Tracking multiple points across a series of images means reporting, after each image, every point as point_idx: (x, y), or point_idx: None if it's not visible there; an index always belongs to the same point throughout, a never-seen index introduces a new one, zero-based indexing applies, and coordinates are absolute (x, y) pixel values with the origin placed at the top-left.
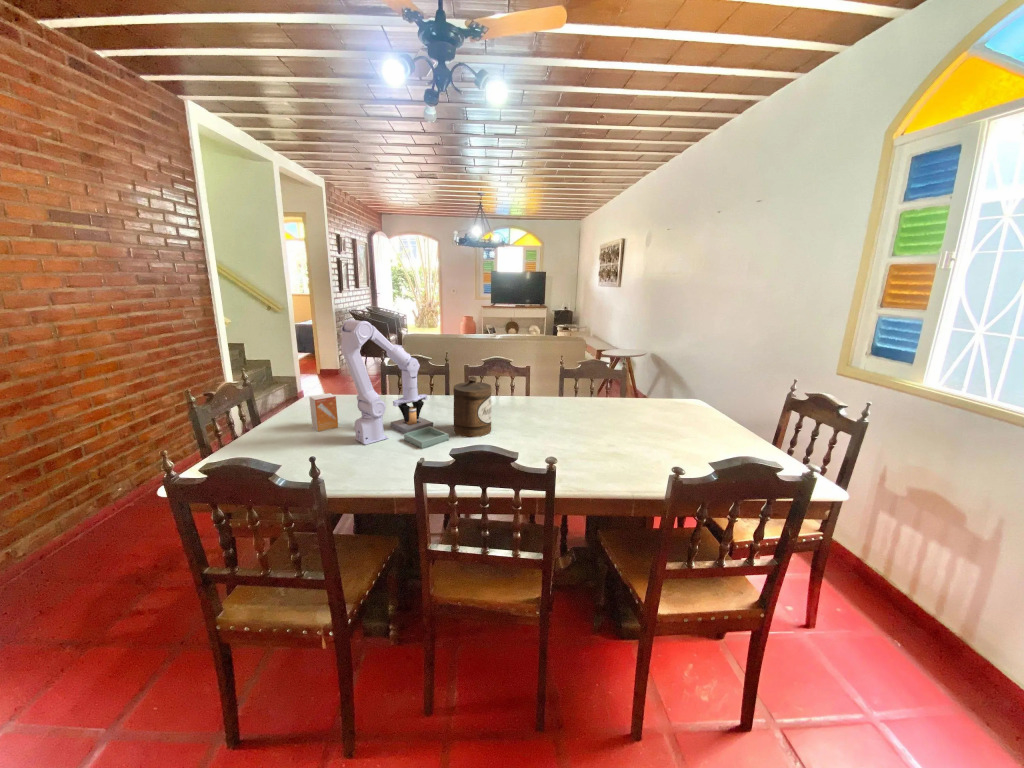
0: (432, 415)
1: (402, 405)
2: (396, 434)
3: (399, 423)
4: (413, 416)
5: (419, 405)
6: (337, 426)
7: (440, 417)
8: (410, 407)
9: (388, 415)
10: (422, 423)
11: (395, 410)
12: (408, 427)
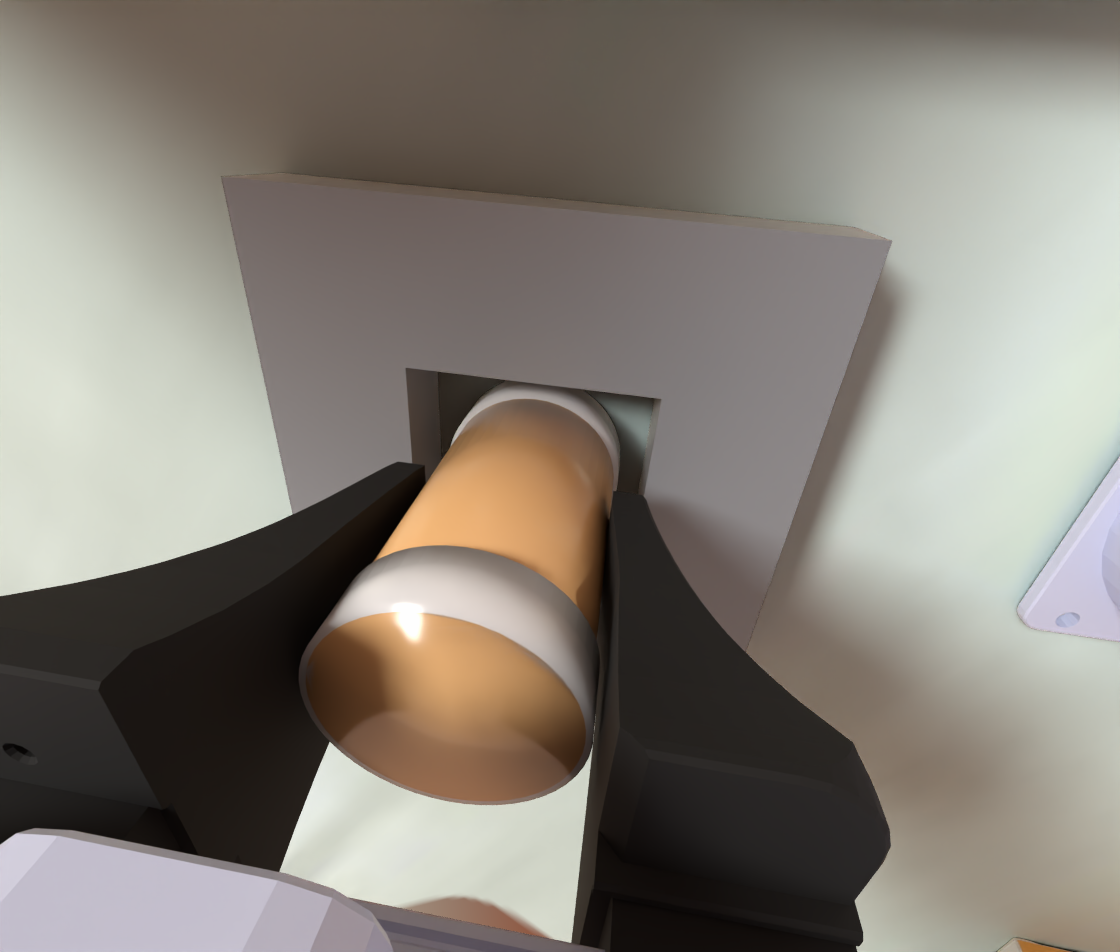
0: (115, 559)
1: (813, 939)
2: (936, 383)
3: (694, 586)
4: (512, 490)
5: (179, 621)
6: (1029, 950)
7: (36, 436)
8: (431, 746)
9: (500, 833)
10: (422, 293)
11: (382, 856)
12: (760, 324)
